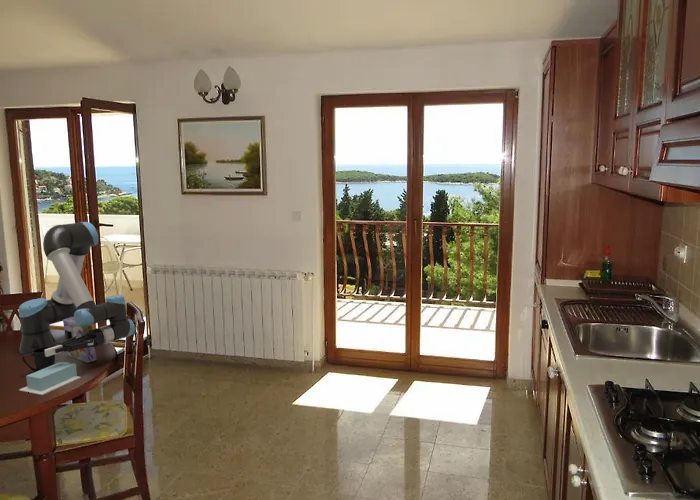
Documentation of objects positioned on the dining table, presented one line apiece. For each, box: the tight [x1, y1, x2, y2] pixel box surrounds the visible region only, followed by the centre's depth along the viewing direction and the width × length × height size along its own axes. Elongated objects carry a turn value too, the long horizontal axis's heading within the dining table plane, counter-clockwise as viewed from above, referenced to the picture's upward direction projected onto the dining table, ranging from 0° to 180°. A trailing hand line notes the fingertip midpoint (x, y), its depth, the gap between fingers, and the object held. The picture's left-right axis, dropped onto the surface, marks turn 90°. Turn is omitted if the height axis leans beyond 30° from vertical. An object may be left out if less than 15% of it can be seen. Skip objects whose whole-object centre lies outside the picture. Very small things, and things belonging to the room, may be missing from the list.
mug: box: [21, 346, 56, 373], centre depth 231 cm, size 8×12×10 cm
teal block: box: [26, 361, 78, 391], centre depth 220 cm, size 8×5×16 cm
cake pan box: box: [62, 317, 97, 364], centre depth 246 cm, size 19×5×18 cm, turn 51°
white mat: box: [18, 375, 81, 396], centre depth 219 cm, size 13×18×1 cm
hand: (45, 353), depth 219 cm, fingers closed
